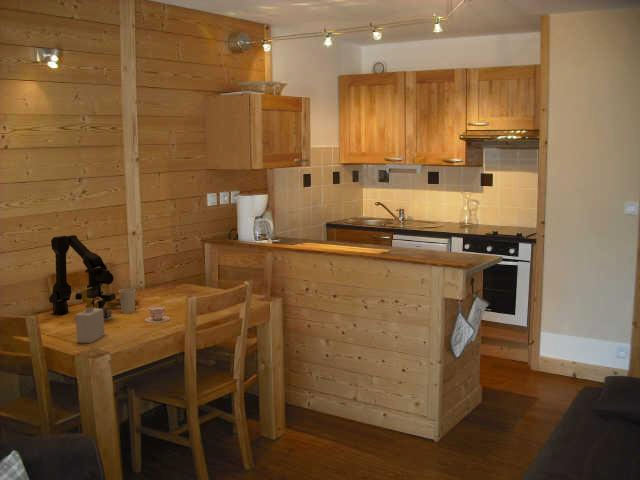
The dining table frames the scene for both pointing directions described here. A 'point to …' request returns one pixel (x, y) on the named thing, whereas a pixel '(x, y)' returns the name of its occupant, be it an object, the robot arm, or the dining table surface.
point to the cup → (127, 300)
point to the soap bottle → (89, 322)
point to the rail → (104, 309)
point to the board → (109, 317)
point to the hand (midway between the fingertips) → (96, 313)
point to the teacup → (157, 314)
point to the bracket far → (107, 314)
